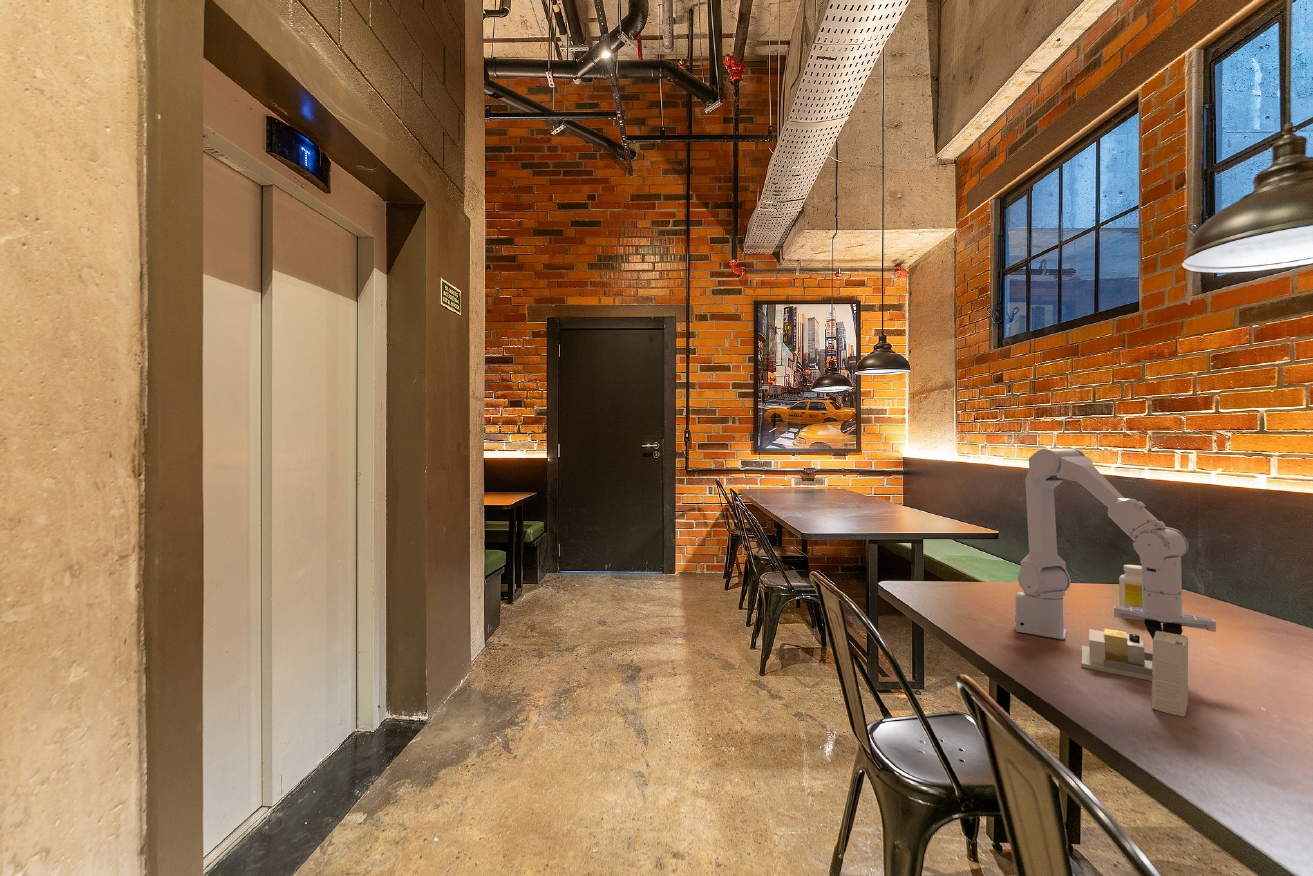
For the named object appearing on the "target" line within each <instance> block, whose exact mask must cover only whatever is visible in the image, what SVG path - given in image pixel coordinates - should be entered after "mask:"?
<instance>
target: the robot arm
mask: <svg viewBox="0 0 1313 876" xmlns="http://www.w3.org/2000/svg"><path fill="white" fill-rule="evenodd" d="M1028 467H1029V468H1028V471H1027V474H1026V477H1025V483H1024V484H1025V498H1026V499H1025V500H1026V514H1027V517H1026V518H1027V532H1028V533H1027V536H1028V554H1027V555H1026V556H1025V557H1024V558H1023V559H1021V561H1020V569H1019V572H1018V574H1017V583H1018V585H1019V588H1021V590H1022V591H1016V594H1015V615H1014V622H1015V632H1016V633H1017V632H1018V633H1022V634H1029V635H1032V636H1033V635H1034V636H1040V637H1046V638H1051V639H1058V640H1063V641H1064V640H1066V637H1067V629H1066V628H1064V596H1065V595H1066V591H1068V589H1069V588H1070V587H1071V584H1072V583H1071V581H1072V580H1071V576H1070V573H1069V572H1068V569H1067V563H1066V561H1065V560H1064V559H1063V558H1062V557H1061V556H1060V555H1058V543H1057V541H1058V540H1057V525H1056V507H1055V506H1056V505H1055V488H1057V486H1059V485H1060V484H1061V483H1062V482H1063V481H1065V480H1066V481H1067V480H1068V481H1074V482H1077V483H1078V484H1079V485H1081V486H1082V487H1083V488H1084V489H1086V490H1087V491H1088V492H1089V493H1090V494H1092V495H1093V496H1094V497H1095V498H1096V499H1097V500H1099V501H1100V502H1101V503H1102V504H1103V505H1104V506H1106V507H1107V516H1108V517H1109V518H1110V519H1111V520H1112V522H1114V523H1115V524H1116V525H1117V526H1118V527H1119V528H1120V529H1121V530H1122V531H1123V532H1124V533H1125V534H1126V535H1127V536H1128V537H1129V538H1131V540H1133V541H1132V547H1133V549H1134V551H1135V552H1136V554H1137V555H1138V556H1139V562H1140V564H1141V566H1142V602H1143V608H1134V607H1121V606H1120V605H1113V617H1114V618H1117V619H1121V618H1122V619H1130V620H1136V621H1143V623H1144V626H1145V629H1146V630H1147V632H1148V633H1149V636H1150V638H1151V640H1153V638H1154V635H1155V632H1156V631H1160V632H1167V633H1172V634H1178V635H1183V630H1184V629H1183V627H1187V628H1193V629H1200V630H1207V631H1209V632H1215V633H1216V632H1217V624H1216V623H1217V622H1216V620H1215V618H1209V617H1204V616H1197V615H1193V614H1187V613H1184V612H1183V590H1182V589H1183V584H1182V583H1183V582H1182V557H1183V556H1184V555H1185V554H1187V552H1188V549H1189V541H1188V540H1187V538H1186V537H1185V535H1184V534H1183V532H1182V531H1180V529H1176V528H1174V527H1168V526H1166V523H1164V522H1163V521H1162V520H1158V518H1156V516H1154V515H1153V514H1152V513H1151V512H1149V510H1147V509H1146V508H1145V507H1146V504H1145V503H1144V502H1142V501H1141V500H1140V501H1137V500H1136V499H1135V498H1128V497H1127V498H1126V497H1124V496H1123V495H1122V494H1121V493H1120V492H1119V491H1118V490H1117V489H1116V488H1115V486H1113V485H1112V484H1111V483H1110V481H1108V479H1107V478H1106V477H1105V476H1104V475H1103V474H1102V473H1101V472H1100V471H1099V470H1098V469H1097V468H1096V467H1095V466H1094V463H1093V460H1092V459H1091V458H1090V457H1088V456H1086V454H1085V453H1084V452H1083V451H1081V450H1080V449H1078V448H1075V447H1074V448H1071V447H1070V448H1059V449H1057V448H1054V449H1051V448H1042V449H1039V450H1037V451H1036V452H1034V453H1033V454H1032V455H1031V456H1030V457H1028Z"/></svg>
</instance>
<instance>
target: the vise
mask: <svg viewBox="0 0 1313 876" xmlns="http://www.w3.org/2000/svg"><path fill="white" fill-rule="evenodd" d="M1088 630H1089V631H1088V632H1089V633H1088V639H1089V640H1088V641H1089V646H1086V645H1081V668H1084V669H1089V670H1093V671H1099V672H1103V673H1109V674H1114V675H1118V676H1125V677H1130V678H1135V679H1141V680H1146V681H1151V682H1152V656H1153V651H1146V650H1144V657H1145V667H1142V666H1136V665H1131V664H1125V663H1120V662H1115V661H1109V660H1105V640H1104V630H1096V629H1091V628H1090V629H1088Z"/></svg>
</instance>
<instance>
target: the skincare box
mask: <svg viewBox="0 0 1313 876" xmlns="http://www.w3.org/2000/svg"><path fill="white" fill-rule="evenodd" d="M1152 653H1153V656H1152V681H1151V708H1152V709H1153V710H1156V711H1159V712H1163V713H1167V714H1169V715H1173V716H1178V717H1183V718H1185V717H1186V713H1187V709H1188V705H1189V704H1188V703H1189V672H1188V671H1189V637H1188V636H1187V635H1183V634H1181V635H1178V634H1172V633H1167V632H1160V631H1156V632H1155V635H1154V638H1153V639H1152Z"/></svg>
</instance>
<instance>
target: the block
mask: <svg viewBox="0 0 1313 876" xmlns="http://www.w3.org/2000/svg"><path fill="white" fill-rule="evenodd" d="M1103 631H1104V640H1105V660H1109V661H1115V662H1120V663H1125V664H1128V651H1127V635H1126V634H1127V632H1126V631H1123V630H1122V631H1121V630H1116V629H1109V628H1103Z"/></svg>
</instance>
